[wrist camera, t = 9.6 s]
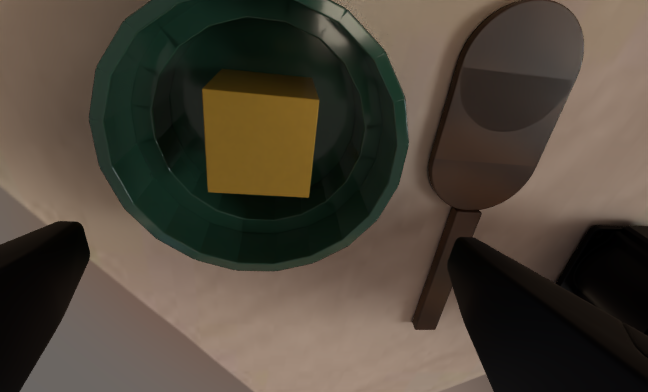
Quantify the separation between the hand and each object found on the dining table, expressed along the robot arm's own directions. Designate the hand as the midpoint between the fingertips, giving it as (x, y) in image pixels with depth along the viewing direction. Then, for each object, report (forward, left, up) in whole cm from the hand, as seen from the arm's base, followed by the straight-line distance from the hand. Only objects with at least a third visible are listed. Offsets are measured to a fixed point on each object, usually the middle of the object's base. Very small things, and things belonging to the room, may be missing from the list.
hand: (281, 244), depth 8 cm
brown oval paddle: (-5, -12, -11) cm, 17 cm away
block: (0, +1, -11) cm, 11 cm away
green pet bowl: (0, +1, -11) cm, 11 cm away
